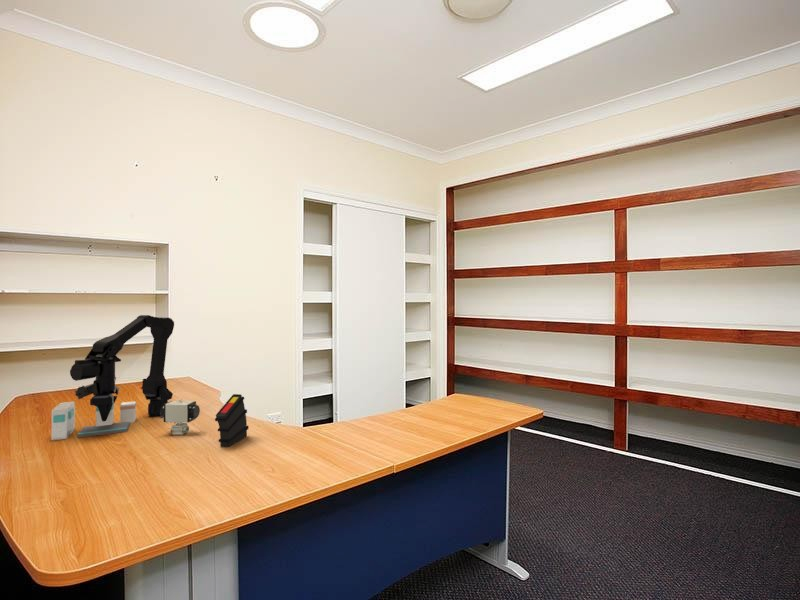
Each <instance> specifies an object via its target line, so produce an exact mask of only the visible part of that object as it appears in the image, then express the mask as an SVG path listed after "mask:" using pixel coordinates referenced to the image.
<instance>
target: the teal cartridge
mask: <svg viewBox="0 0 800 600" xmlns="http://www.w3.org/2000/svg"><path fill="white" fill-rule="evenodd" d="M114 407H115V403H113V406H112V408H111V410H110V413H109V415H108V417H107V420H106V421H102V419H101V415H100V412H99V409H98V407H96V406H95V425H96V426H103V425H112V424H114V422H115V421H114V420H115V418H114V417H115V408H114Z"/></svg>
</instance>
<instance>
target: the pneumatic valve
mask: <svg viewBox="0 0 800 600" xmlns="http://www.w3.org/2000/svg"><path fill="white" fill-rule="evenodd" d="M200 410H201V409H200V405H198V404H197V401H196V400H195V401H193V400H191V401H190V400H182V398H179V399H178V400H170V401H168V403H166V404H164V405H163V406H162V408H161V410H160V416H159V417H161V418H162V420H163V423H173V425H172V426H170V427H171V428H170V432H171V434H172V435H173V436H183V435H185V434H187V433H189V430H190V426H189V425H188V424H189V423H191V422H193V421H195V420H196V419H198V417H199V416H200V413H201V412H200Z"/></svg>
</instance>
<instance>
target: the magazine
mask: <svg viewBox="0 0 800 600" xmlns="http://www.w3.org/2000/svg"><path fill="white" fill-rule="evenodd" d="M244 401H245V397H244V396H243V395H242V394H241V393H240V394H237V393H234V394H232V395H231V396H230V398H229V399H227V401H226V402H225V404H224V405H222V407H221V408H220V409H219V411H218V412H217V413H216V414H215V418H214V421H215V422H217V424H218V429H217V432H219V437H220V438H219V439H218V442H219V443H220V445H219V446H220V447H226V448H228V447H230V446H233V445H234V444H236V443H238V442H240V441H241V440H244V439H245V438H247V437H248V435H247V434H248V430H249V425H247V413H248V409H246V406H245V403H244ZM246 436H247V437H246ZM244 437H245V438H244Z"/></svg>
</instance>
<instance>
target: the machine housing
mask: <svg viewBox="0 0 800 600" xmlns="http://www.w3.org/2000/svg"><path fill="white" fill-rule="evenodd" d="M75 408H76V401H65V402H60V403H59V404H57V405H56V406H55V407H53V409H51V441H58V440H59V441H60V440H67V439H68V438H69V436H71V434H72V433H73V432H74V431H75V427H76V426H75V425H76V409H75Z"/></svg>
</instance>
